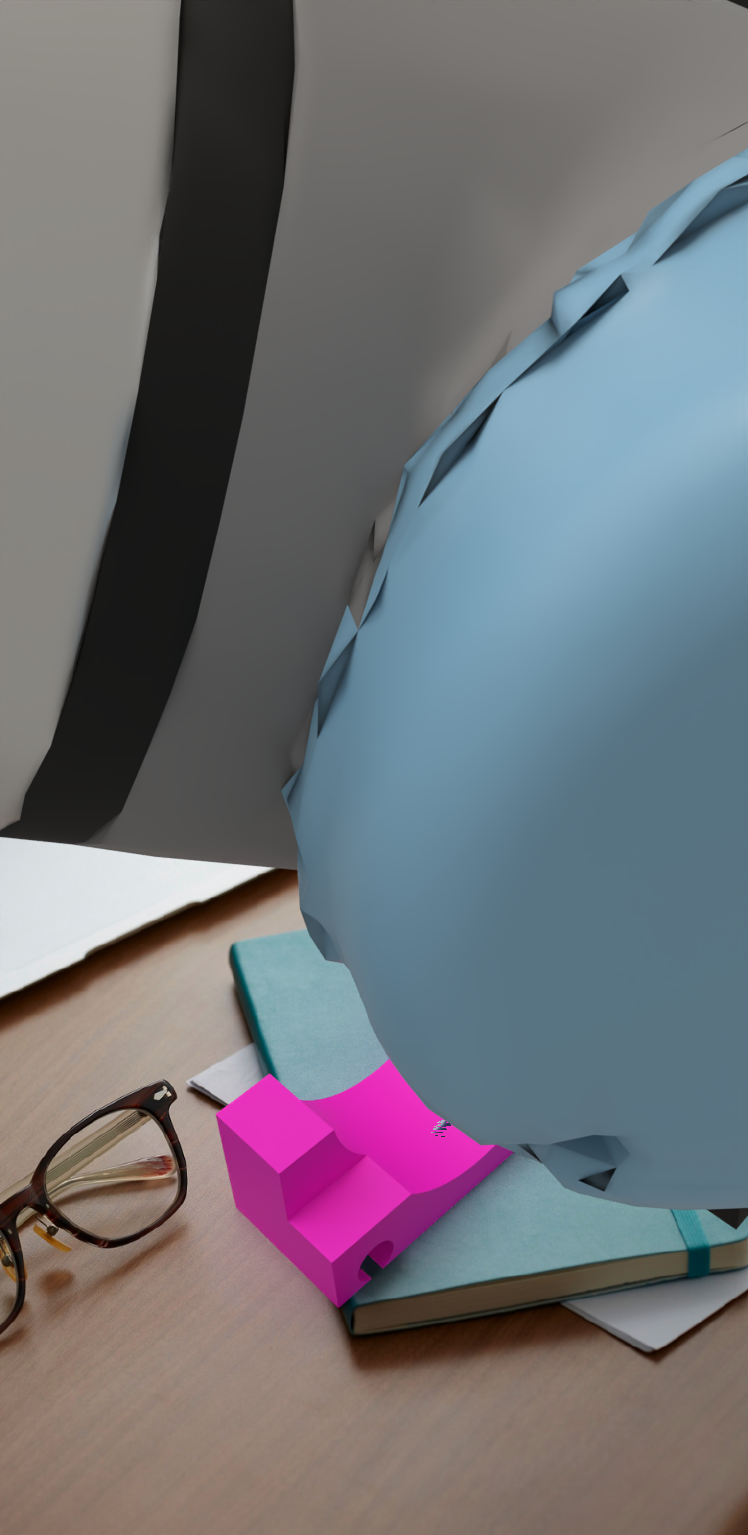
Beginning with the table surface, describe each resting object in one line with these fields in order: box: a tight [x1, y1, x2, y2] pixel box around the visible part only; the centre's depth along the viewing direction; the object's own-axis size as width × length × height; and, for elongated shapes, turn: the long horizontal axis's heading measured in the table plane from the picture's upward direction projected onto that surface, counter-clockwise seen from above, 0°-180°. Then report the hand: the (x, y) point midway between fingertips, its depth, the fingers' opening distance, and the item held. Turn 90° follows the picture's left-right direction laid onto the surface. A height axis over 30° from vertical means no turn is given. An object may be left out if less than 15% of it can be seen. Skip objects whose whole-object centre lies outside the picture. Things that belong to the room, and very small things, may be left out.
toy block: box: [215, 1058, 514, 1309], centre depth 58 cm, size 15×6×8 cm, turn 133°
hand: (740, 1187), depth 45 cm, fingers closed
